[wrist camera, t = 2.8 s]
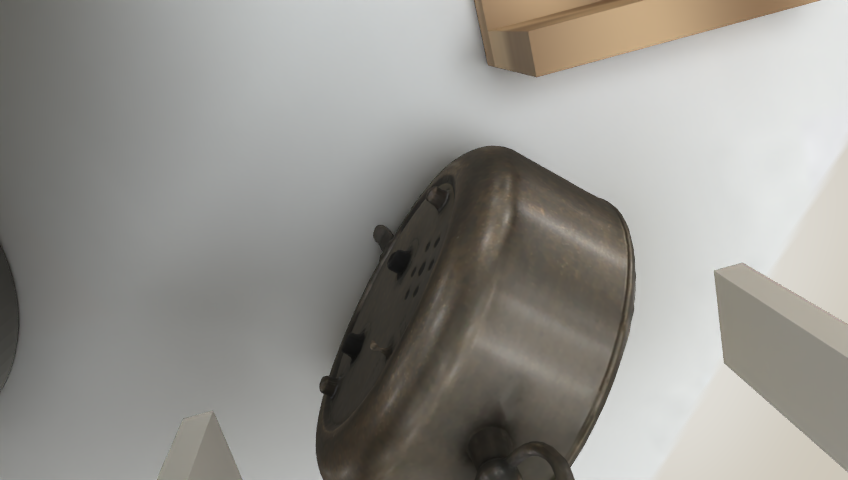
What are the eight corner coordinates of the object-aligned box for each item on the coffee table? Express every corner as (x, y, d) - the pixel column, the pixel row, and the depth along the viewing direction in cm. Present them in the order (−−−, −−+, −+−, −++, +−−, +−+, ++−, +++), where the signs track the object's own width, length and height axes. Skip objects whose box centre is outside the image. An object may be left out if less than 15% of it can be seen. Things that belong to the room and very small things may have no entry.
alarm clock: (416, 392, 27) (511, 873, 12) (298, 342, 26) (230, 811, 10) (554, 165, 25) (903, 391, 9) (432, 96, 23) (604, 227, 8)
